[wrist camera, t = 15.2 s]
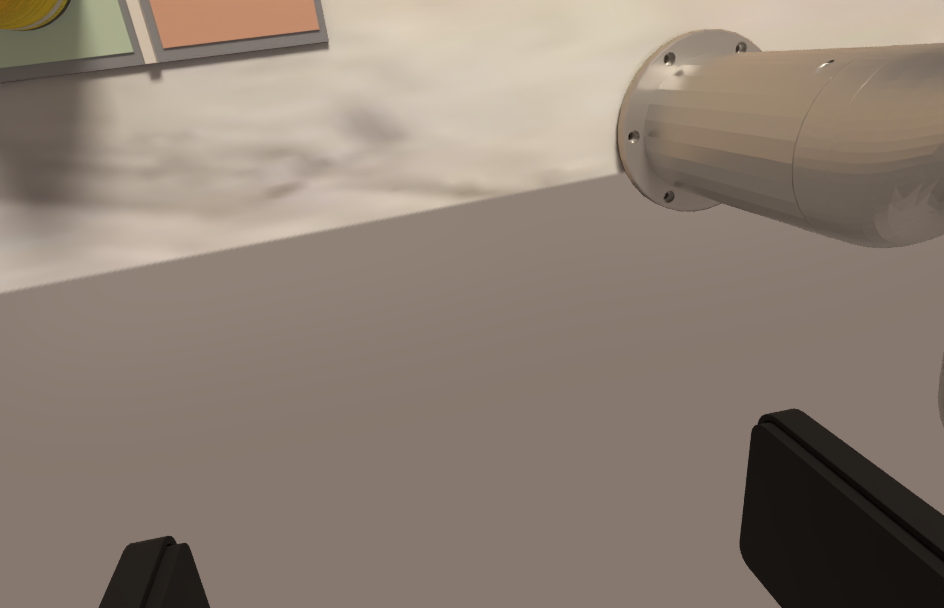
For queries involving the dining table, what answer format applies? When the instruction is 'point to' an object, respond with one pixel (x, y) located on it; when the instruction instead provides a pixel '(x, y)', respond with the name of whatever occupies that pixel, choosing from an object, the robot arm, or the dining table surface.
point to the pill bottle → (30, 13)
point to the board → (155, 34)
